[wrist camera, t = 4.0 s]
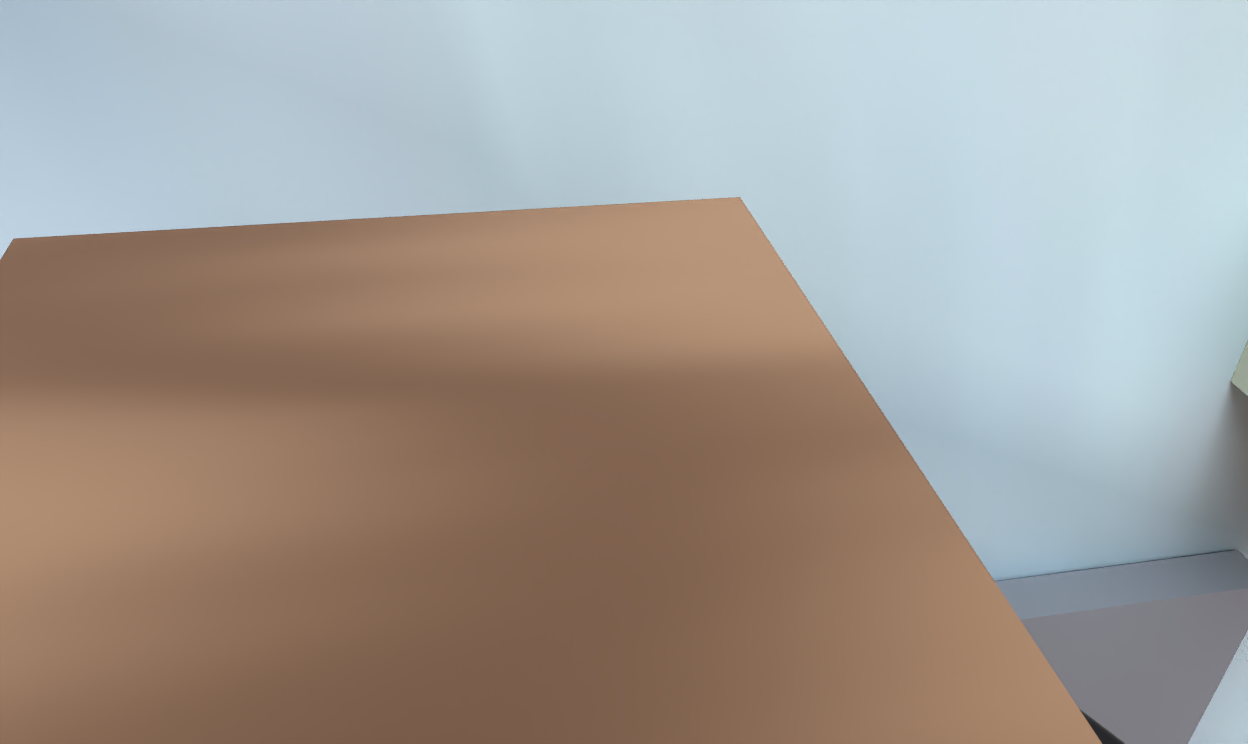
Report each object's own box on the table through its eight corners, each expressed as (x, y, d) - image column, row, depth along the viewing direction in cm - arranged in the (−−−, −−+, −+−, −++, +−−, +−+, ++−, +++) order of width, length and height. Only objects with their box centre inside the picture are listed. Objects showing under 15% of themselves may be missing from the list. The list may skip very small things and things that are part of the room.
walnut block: (173, 721, 10) (30, 1479, 6) (13, 239, 7) (-492, 1057, 3) (694, 651, 11) (889, 1266, 7) (739, 197, 8) (1129, 783, 4)
